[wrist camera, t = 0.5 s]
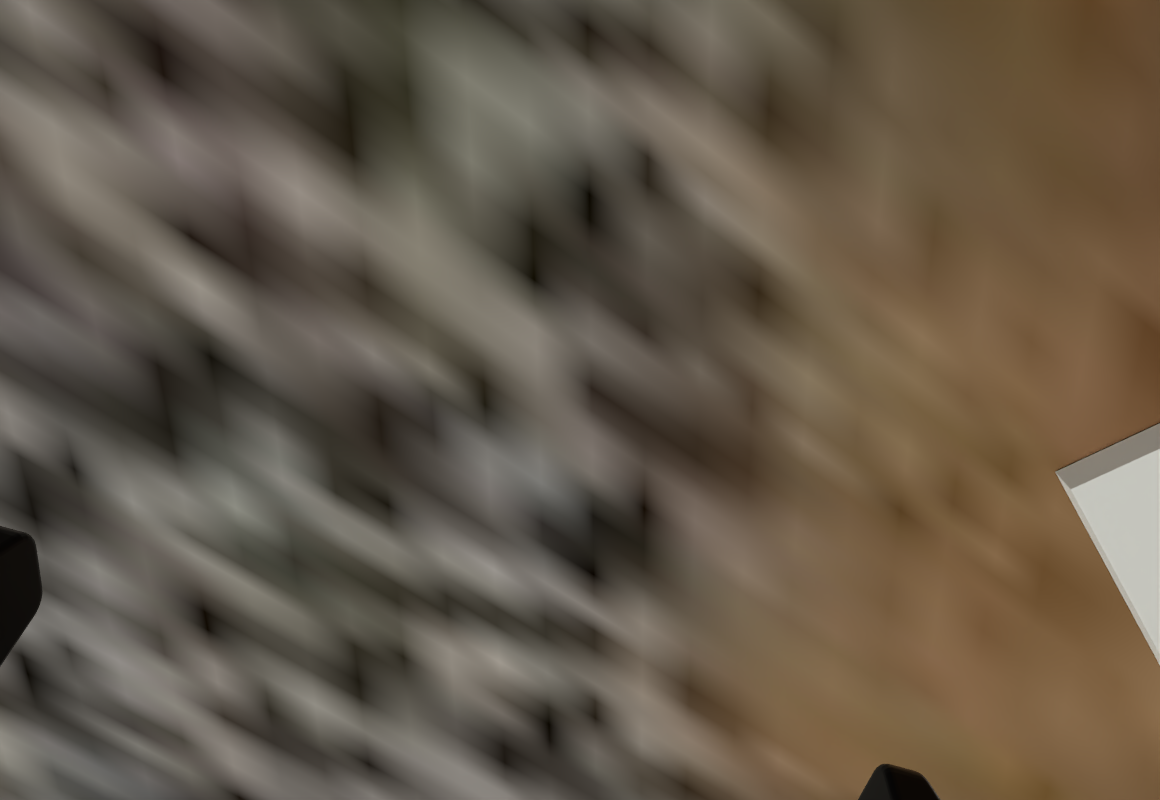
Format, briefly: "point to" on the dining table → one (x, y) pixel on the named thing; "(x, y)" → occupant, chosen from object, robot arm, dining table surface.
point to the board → (1125, 520)
